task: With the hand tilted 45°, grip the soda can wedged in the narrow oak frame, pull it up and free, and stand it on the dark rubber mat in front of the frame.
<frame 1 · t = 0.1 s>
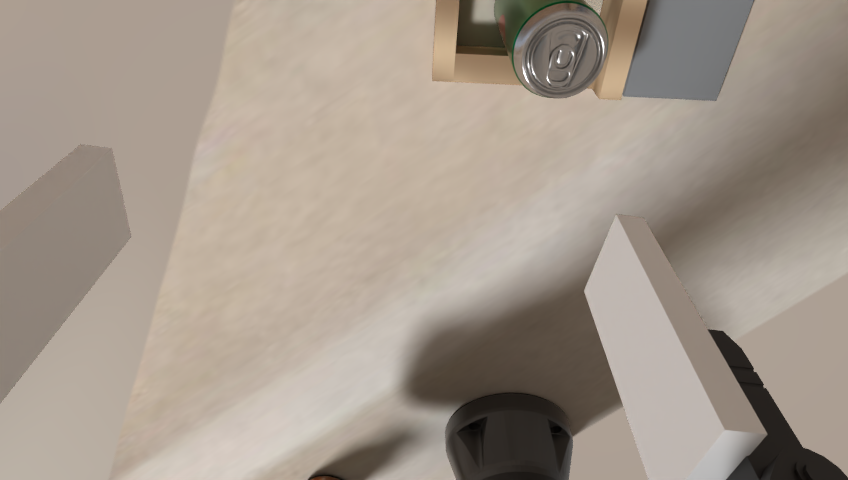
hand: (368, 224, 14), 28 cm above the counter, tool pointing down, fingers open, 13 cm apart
oak frame: (529, 4, 37), on the counter
rubber mat: (694, 12, 37), on the counter
soda can: (529, 3, 37), resting in oak frame
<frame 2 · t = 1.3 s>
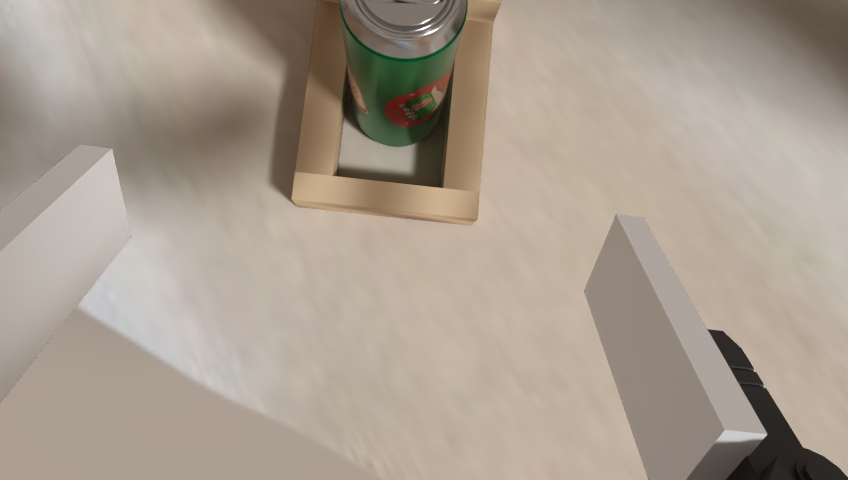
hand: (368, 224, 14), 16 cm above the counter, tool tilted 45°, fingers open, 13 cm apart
oak frame: (396, 108, 32), on the counter
soda can: (396, 110, 32), resting in oak frame
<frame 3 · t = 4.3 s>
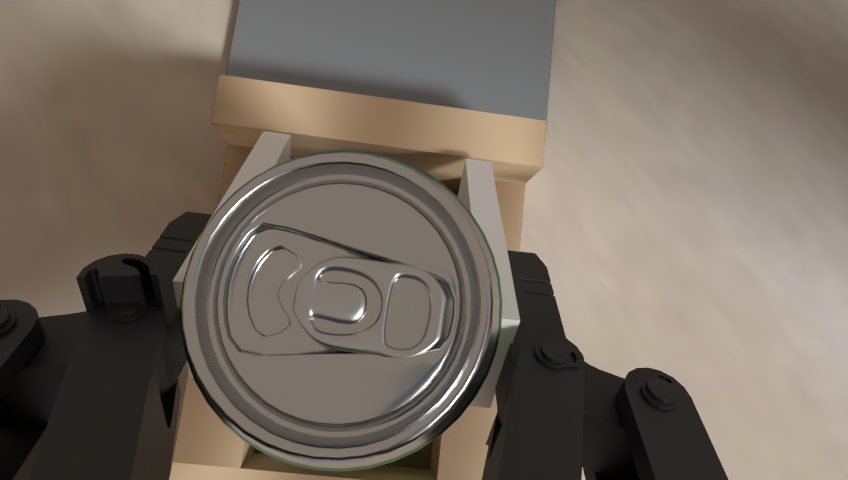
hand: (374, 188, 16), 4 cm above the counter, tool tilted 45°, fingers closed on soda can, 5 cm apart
oak frame: (362, 314, 19), on the counter
rubber mat: (399, 20, 21), on the counter
soda can: (362, 314, 19), resting in oak frame, touching gripper
when the fingers open (6 cm above the counter, at t = 8.3 s): soda can drops 1 cm, resting on rubber mat.
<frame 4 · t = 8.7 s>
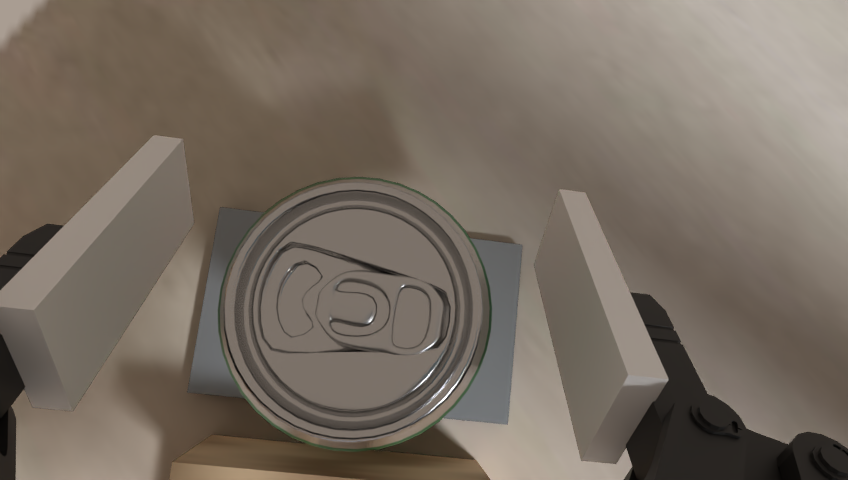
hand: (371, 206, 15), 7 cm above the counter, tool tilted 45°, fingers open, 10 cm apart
rubber mat: (363, 315, 21), on the counter
soda can: (367, 316, 21), resting on rubber mat
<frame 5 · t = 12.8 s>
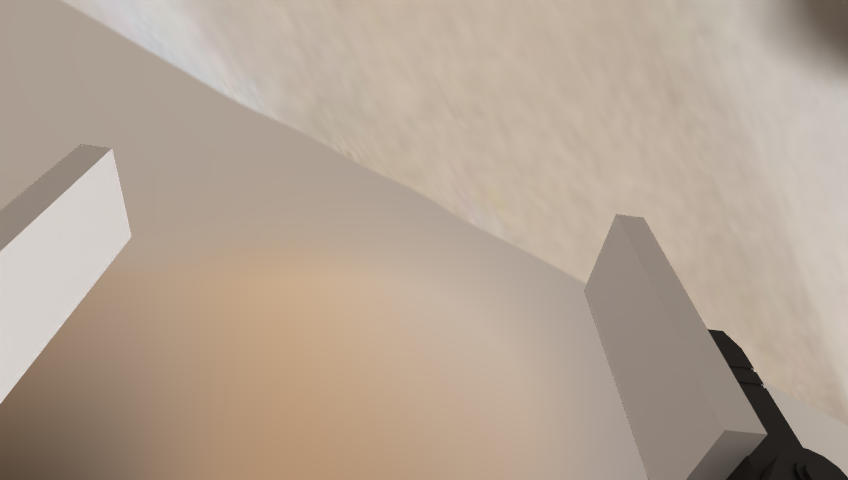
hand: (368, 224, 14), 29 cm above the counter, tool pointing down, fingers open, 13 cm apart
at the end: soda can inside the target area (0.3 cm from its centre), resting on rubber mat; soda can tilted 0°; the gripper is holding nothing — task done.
